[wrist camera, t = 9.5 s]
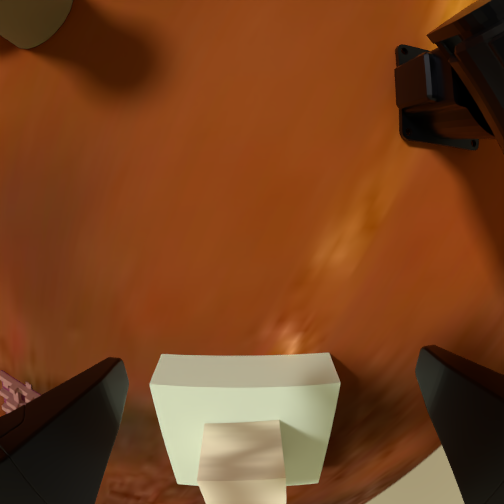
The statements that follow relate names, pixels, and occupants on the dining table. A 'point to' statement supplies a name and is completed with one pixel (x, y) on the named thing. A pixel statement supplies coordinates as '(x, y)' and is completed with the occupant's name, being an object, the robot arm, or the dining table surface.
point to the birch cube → (242, 463)
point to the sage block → (247, 405)
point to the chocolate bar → (15, 392)
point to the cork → (31, 20)
